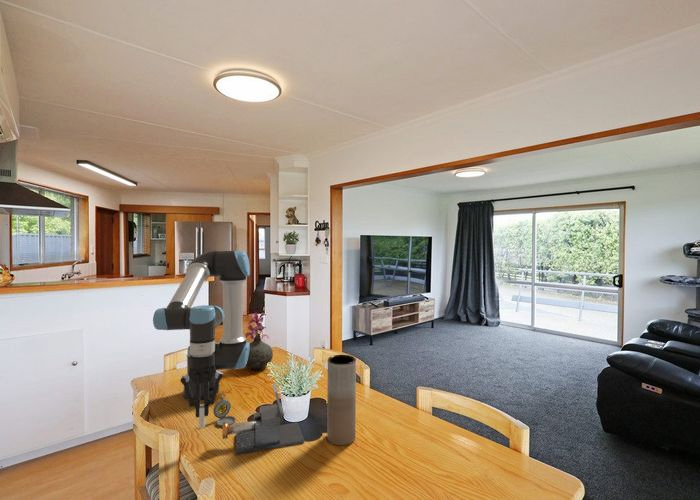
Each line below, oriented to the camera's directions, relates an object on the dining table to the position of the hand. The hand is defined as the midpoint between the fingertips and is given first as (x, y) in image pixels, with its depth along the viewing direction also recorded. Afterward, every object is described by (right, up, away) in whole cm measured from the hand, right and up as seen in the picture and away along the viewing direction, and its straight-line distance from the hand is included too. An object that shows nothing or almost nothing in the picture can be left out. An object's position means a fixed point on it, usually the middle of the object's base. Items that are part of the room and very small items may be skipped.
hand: (202, 426), depth 110 cm
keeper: (+24, +1, +8) cm, 25 cm away
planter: (+45, -9, +8) cm, 47 cm away
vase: (-3, -8, +76) cm, 76 cm away
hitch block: (+19, -8, +7) cm, 22 cm away
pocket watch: (+1, -8, +19) cm, 20 cm away
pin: (+13, -5, +5) cm, 15 cm away
